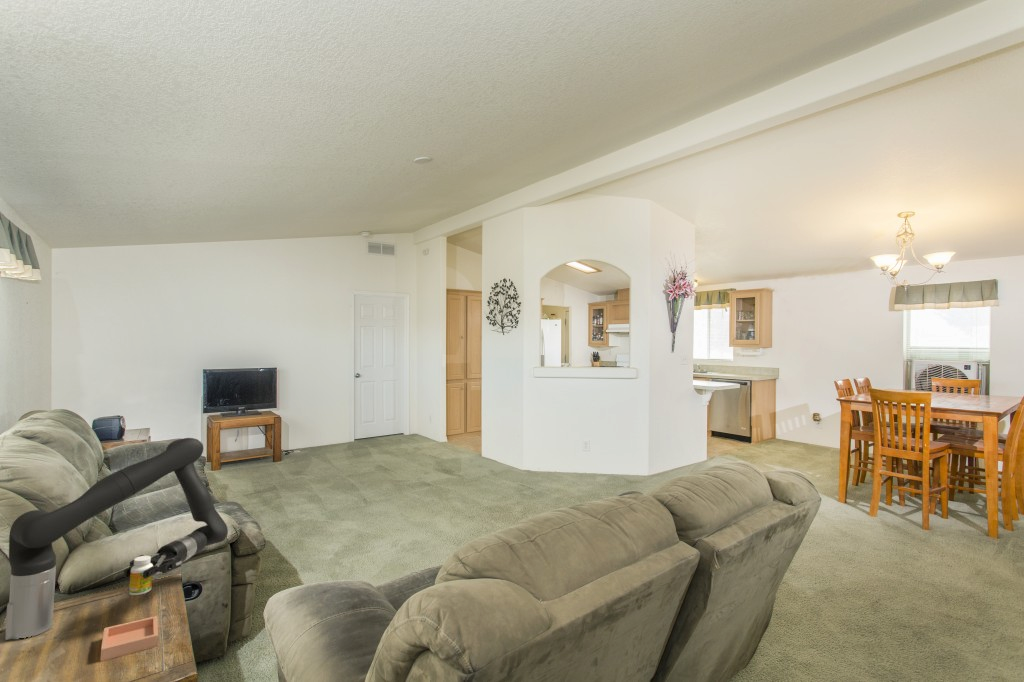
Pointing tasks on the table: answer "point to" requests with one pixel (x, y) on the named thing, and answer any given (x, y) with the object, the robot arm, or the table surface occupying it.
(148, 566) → the supplement bottle
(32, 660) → the table surface
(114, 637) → the tray
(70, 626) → the table surface
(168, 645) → the table surface
